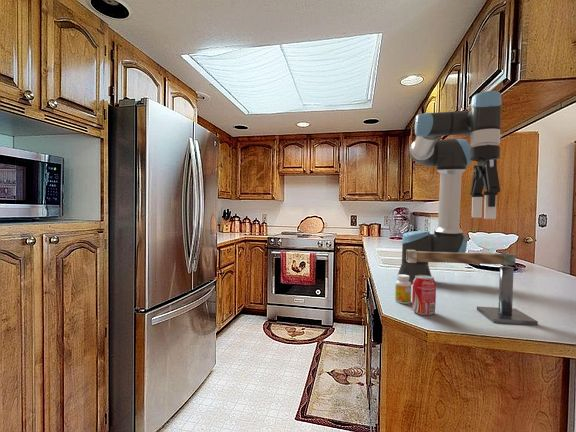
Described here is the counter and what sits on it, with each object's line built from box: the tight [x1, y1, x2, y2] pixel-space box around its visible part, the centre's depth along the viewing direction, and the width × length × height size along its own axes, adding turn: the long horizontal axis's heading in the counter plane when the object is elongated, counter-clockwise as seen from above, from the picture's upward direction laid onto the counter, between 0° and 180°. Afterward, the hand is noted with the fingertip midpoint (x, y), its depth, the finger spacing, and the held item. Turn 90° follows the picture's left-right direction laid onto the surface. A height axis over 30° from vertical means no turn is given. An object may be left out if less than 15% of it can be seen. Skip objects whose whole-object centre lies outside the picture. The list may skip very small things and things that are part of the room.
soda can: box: [411, 275, 437, 316], centre depth 105 cm, size 7×7×12 cm
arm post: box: [476, 265, 539, 326], centre depth 102 cm, size 12×12×16 cm
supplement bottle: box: [394, 274, 412, 305], centre depth 117 cm, size 5×5×10 cm
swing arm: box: [406, 250, 517, 266], centre depth 103 cm, size 32×4×4 cm, turn 81°
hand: (482, 218), depth 95 cm, fingers open, 13 cm apart
